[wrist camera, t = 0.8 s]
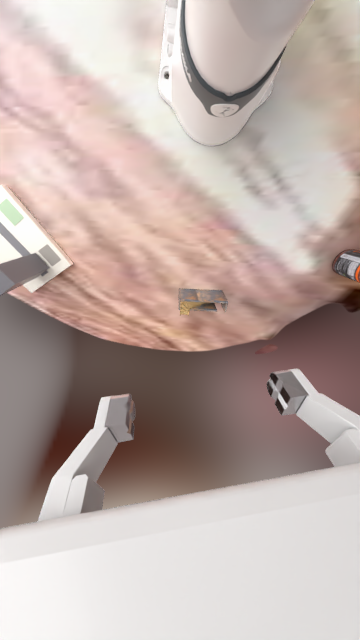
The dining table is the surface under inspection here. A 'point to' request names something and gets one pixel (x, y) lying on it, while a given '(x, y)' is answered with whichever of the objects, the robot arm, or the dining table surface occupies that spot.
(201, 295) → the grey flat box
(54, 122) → the dining table surface
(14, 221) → the switch panel
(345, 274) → the supplement bottle
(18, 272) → the switch tab
